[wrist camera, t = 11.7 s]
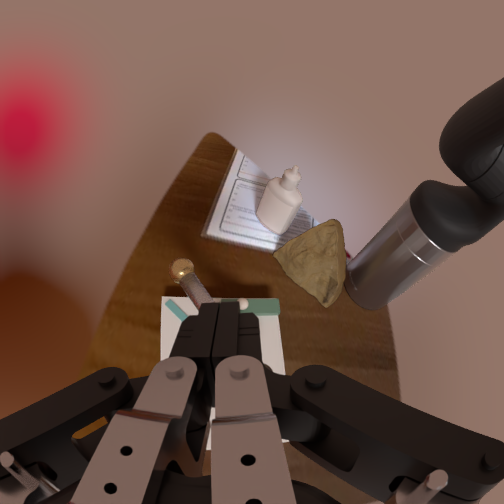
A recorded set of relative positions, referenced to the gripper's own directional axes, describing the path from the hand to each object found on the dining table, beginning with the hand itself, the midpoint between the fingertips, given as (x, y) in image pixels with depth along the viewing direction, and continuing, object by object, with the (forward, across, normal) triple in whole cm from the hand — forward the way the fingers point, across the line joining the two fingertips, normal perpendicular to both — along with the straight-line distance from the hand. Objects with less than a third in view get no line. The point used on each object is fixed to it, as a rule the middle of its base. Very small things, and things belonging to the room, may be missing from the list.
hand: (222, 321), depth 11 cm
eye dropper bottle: (+34, -5, +3) cm, 35 cm away
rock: (+28, -9, +11) cm, 31 cm away
